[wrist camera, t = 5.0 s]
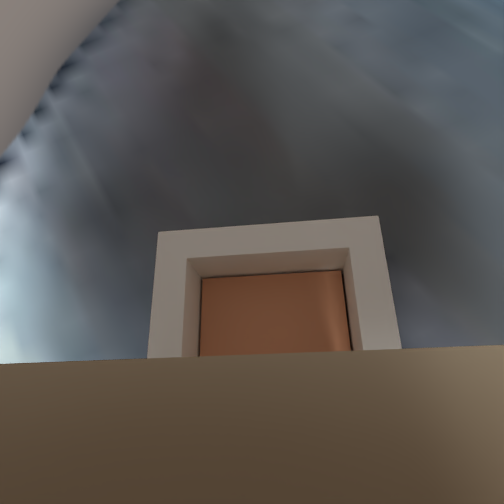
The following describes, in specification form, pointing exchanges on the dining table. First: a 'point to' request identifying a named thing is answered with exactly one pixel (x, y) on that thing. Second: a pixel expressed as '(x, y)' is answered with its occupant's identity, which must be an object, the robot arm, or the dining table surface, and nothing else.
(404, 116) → the dining table surface
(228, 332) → the channel
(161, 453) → the block
